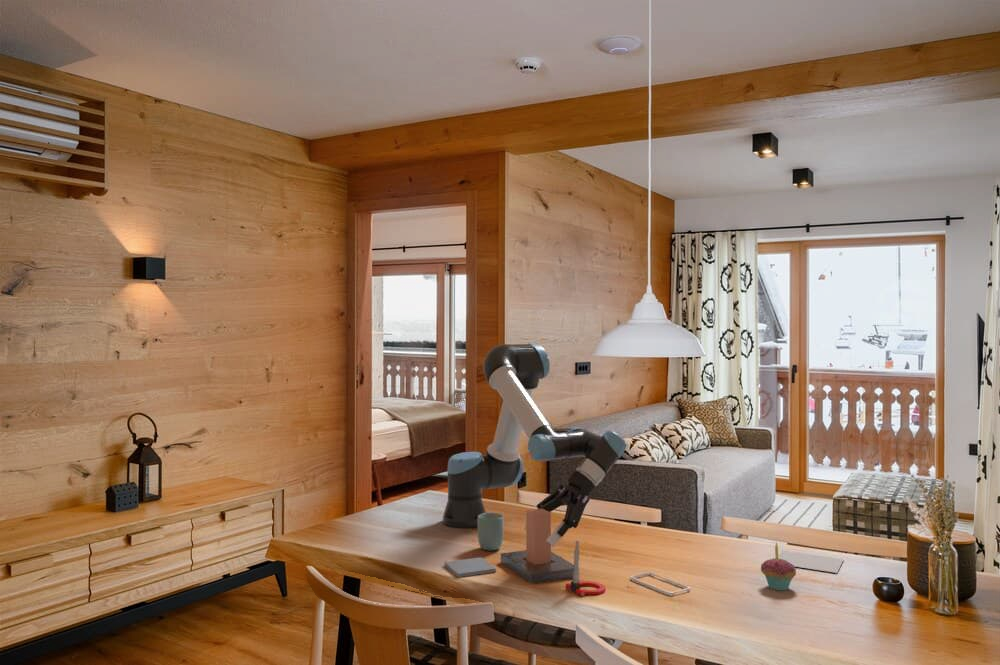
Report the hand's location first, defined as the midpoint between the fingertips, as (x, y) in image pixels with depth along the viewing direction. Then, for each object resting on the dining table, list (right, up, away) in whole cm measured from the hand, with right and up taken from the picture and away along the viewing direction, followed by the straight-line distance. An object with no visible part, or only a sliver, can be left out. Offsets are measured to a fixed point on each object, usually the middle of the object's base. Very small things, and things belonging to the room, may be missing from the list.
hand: (538, 537), depth 208 cm
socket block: (0, -9, +1) cm, 9 cm away
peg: (0, -9, +1) cm, 9 cm away
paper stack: (+83, -9, +8) cm, 84 cm away
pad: (-19, -9, +1) cm, 21 cm away
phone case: (+31, -10, -12) cm, 34 cm away
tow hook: (+12, -9, -16) cm, 22 cm away
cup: (-13, -9, +20) cm, 26 cm away
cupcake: (+61, -9, -14) cm, 63 cm away
